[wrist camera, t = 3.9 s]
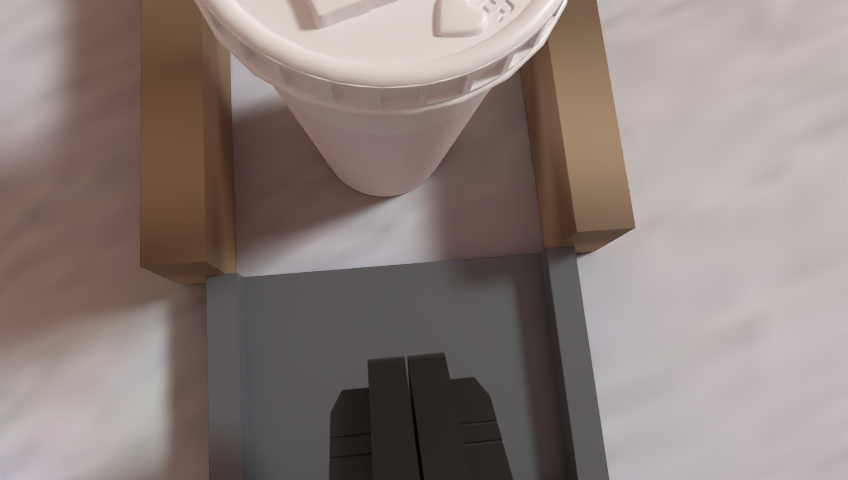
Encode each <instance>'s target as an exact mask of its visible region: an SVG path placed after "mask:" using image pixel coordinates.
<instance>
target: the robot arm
mask: <svg viewBox="0 0 848 480" xmlns="http://www.w3.org/2000/svg"><path fill="white" fill-rule="evenodd" d="M407 364H408V380H407V372H406V364H405V357H404V356H399V357H389V358H379V359H368V383H369V387H367V388H357V389H347V390H342V391H341V393H340V395H339V397H338V399H337V401H336V402H335V404H334V406H333V408H332V410H331V412H330V450H329V459H330V463H329V480H513V477H512V473H511V470H510V466H509V462H508V459H507V455H506V451H505V448H504V444H503V443H502V437H501V433H500V430H499V426H498V424H497V419H496V415H495V411H494V408H493V404H492V400H491V397H490V395H489V394H488V393H487V392H486V390H485V389H484V388H483V387H482V386H481V384H480V383H479V382H478V381H477V380H476V379H475V377H467V378H457V379H450V375H449V371H448V366H447V361H446V356H445V353H444V352H442V353H431V354H421V355H411V356H407ZM408 382H409V388H408Z"/></svg>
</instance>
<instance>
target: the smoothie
mask: <svg viewBox="0 0 848 480" xmlns="http://www.w3.org/2000/svg"><path fill="white" fill-rule="evenodd" d="M195 2H196V4H197V6H198V7H199V9H200V11H201V13H202V14H203V16H204V18H205V19H206V21H207V23H208V25H209V26H210V28H211V30H212V32H213V33H214V35H215V37H216V38H217V40H218V41H219V42H221V43H222V44H223V45H224V46H225V47H226V48H227V49H228V50H229V51H230V52H231V53H232V54H233V55H234V56H235V57H236V58H237V59H238V60H239V61H240V62H241V63H242V64H243V65H244V66H246V67H247V68H248V69H249V70H250V71H251V72H252V73H253V74H254V75H255V76H257V77H259V78H261V79H262V80H264V81H266V82H268V83H270V84H272V85H273V86H274V88H275V89H276V90H277V92H278V93H279V95H280V96H281V97H282V99H283V100H284V102H285V103H286V105H287V106H288V107H289V109H290V110H291V112H292V113H293V115H294V116H295V117H296V119H297V120H298V122H299V123H300V125H301V126H302V127H303V129H304V130H305V132H306V133H307V135H308V136H309V137H310V139H311V140H312V142H313V143H314V145H315V146H316V147H317V149H318V150H319V152H320V153H321V155H322V156H323V157H324V159H325V160H326V162H327V163H328V165H329V166H330V167H331V169H332V170H333V172H334V173H335V174H336V175H337V176H338V178H339V179H340V180H342V181H343V182H344V183H345V184H346V185H348V186H349V187H351V188H353V189H354V190H357V191H359V192H361V193H364V194H368V195H372V196H380V197H388V196H396V195H400V194H404V193H407V192H409V191H411V190H413V189H415V188H417V187H418V186H420V185H421V184H423V183H424V182H425V181H426V180H427V179H428V178H429V177H430V176H431V175H432V174H433V172H434V171H435V169H436V168H437V167H438V165H439V164H440V162H441V161H442V159H443V158H444V156H445V155H446V153H447V152H448V150H449V149H450V148H451V146H452V145H453V143H454V142H455V140H456V139H457V137H458V136H459V134H460V133H461V131H462V130H463V128H464V127H465V126H466V124H467V123H468V121H469V120H470V118H471V117H472V115H473V114H474V112H475V111H476V109H477V108H478V107H479V105H480V104H481V102H482V101H483V99H484V98H485V96H486V95H487V93H488V92H489V90H490V89H491V88H492V87H494V86H496V85H498V84H500V83H502V82H504V81H505V80H507V79H509V78H510V77H511V76H512V75H513V74H514V73H515V72H516V71H517V70H518V69H519V68H520V67H521V66H522V65H523V64H524V63H525V62H526V61H528V60H529V59H530V58H531V57H532V56H533V55H534V54H535V53H536V52H537V51H538V50H539V49H540V48H541V47H542V46H543V45H544V43H545V42H546V40H547V38H548V36H549V35H550V33H551V31H552V29H553V28H554V26H555V24H556V22H557V21H558V19H559V17H560V15H561V14H562V12H563V10H564V8H565V7H566V5H567V0H195Z"/></svg>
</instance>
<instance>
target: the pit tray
mask: <svg viewBox="0 0 848 480" xmlns="http://www.w3.org/2000/svg"><path fill="white" fill-rule="evenodd" d="M206 308H207V364H208V421H209V477H210V480H329V463H330V459H329V450H330V412H331V410H332V408H333V406H334V404H335V402H336V401H337V399H338V397H339V395H340V393H341V391H342V390H347V389H357V388H367V387H369V383H368V359H379V358H389V357H399V356H404V357H405V364H406V372H407V380H408V364H407V356H411V355H421V354H431V353H442V352H444V353H445V356H446V361H447V366H448V371H449V375H450V379H457V378H467V377H475V379H476V380H477V381H478V382H479V383H480V384H481V386H482V387H483V388H484V389H485V390H486V392H487V393H488V394H489V395H490V397H491V400H492V404H493V408H494V411H495V415H496V419H497V424H498V426H499V430H500V433H501V437H502V443H503V444H504V448H505V451H506V455H507V459H508V462H509V466H510V470H511V473H512V477H513V480H609V476H608V469H607V462H606V455H605V449H604V442H603V435H602V429H601V422H600V415H599V408H598V402H597V395H596V388H595V382H594V375H593V368H592V361H591V355H590V348H589V341H588V335H587V328H586V321H585V314H584V308H583V301H582V294H581V288H580V281H579V274H578V267H577V261H576V254H575V247H574V246H563V247H549V248H545V249H544V250H543V251H541V252H540V253H537V254H525V255H513V256H500V257H488V258H476V259H463V260H451V261H439V262H426V263H414V264H402V265H389V266H377V267H365V268H352V269H340V270H328V271H315V272H303V273H291V274H278V275H266V276H254V277H242V276H241V275H240V274H238V273H226V274H215V275H206ZM408 388H409V382H408Z"/></svg>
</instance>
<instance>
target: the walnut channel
mask: <svg viewBox="0 0 848 480" xmlns="http://www.w3.org/2000/svg"><path fill="white" fill-rule="evenodd" d="M520 73H521V81H522V88H523V95H524V102H525V109H526V117H527V124H528V131H529V138H530V146H531V153H532V160H533V167H534V175H535V182H536V189H537V196H538V204H539V211H540V218H541V225H542V232H543V240H544V247H545V248H549V247H563V246H574V247H575V253H580V252H592V251H596V250H598V249H600V248H601V247H603V246H605V245H606V244H608V243H610V242H612V241H613V240H615V239H617V238H618V237H620V236H622V235H624V234H625V233H627V232H629V231H630V230H632V229H634V228H635V222H634V216H633V211H632V205H631V199H630V193H629V187H628V181H627V176H626V170H625V164H624V158H623V152H622V147H621V141H620V135H619V129H618V123H617V117H616V112H615V106H614V100H613V94H612V88H611V82H610V77H609V71H608V65H607V59H606V53H605V48H604V42H603V36H602V30H601V24H600V18H599V13H598V7H597V1H596V0H567V5H566V7H565V8H564V10H563V12H562V14H561V15H560V17H559V19H558V21H557V22H556V24H555V26H554V28H553V29H552V31H551V33H550V35H549V36H548V38H547V40H546V42H545V43H544V45H543V46H542V47H541V48H540V49H539V50H538V51H537V52H536V53H535V54H534V55H533V56H532V57H531V58H530V59H529V60H528V61H526V62H525V63H524V64H523V65H522V66H521V67H520ZM140 267H142V268H145V269H147V270H149V271H152V272H154V273H156V274H158V275H161V276H163V277H165V278H168V279H170V280H172V281H174V282H177V283H179V284H181V285H187V284H199V283H206V275H215V274H226V273H236V251H235V216H234V180H233V145H232V110H231V74H230V51H229V50H228V49H227V48H226V47H225V46H224V45H223V44H222V43H221V42H219V41H218V40H217V38H216V37H215V35H214V33H213V32H212V30H211V28H210V26H209V25H208V23H207V21H206V19H205V18H204V16H203V14H202V13H201V11H200V9H199V7H198V6H197V4H196V2H195V0H142V24H141V205H140Z"/></svg>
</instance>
